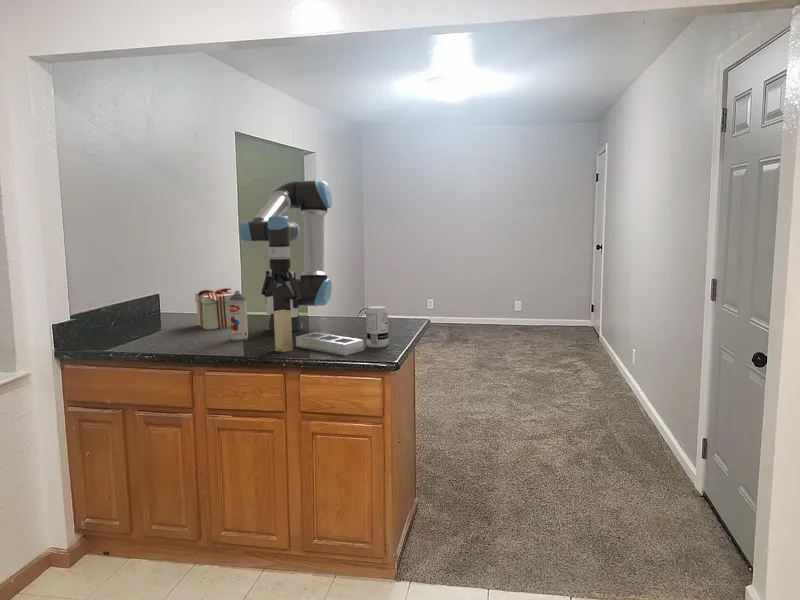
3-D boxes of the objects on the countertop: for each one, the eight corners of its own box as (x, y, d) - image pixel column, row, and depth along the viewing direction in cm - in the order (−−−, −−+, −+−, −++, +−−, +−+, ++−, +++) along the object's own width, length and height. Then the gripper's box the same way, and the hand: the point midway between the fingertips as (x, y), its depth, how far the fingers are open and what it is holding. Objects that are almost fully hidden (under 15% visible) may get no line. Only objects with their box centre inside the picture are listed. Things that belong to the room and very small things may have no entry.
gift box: (210, 331, 276) (207, 292, 273) (194, 326, 290) (191, 289, 287) (246, 326, 286) (244, 289, 284) (229, 321, 300) (227, 285, 298)
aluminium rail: (296, 346, 242) (295, 336, 242) (315, 341, 250) (315, 332, 250) (345, 355, 226) (344, 344, 226) (363, 350, 234) (363, 339, 233)
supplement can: (366, 343, 245) (365, 305, 243) (387, 343, 246) (386, 305, 244) (367, 348, 237) (366, 309, 235) (389, 347, 238) (388, 308, 236)
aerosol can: (227, 340, 257) (224, 291, 254) (239, 337, 263) (236, 289, 260) (240, 341, 254) (237, 292, 251) (251, 338, 259) (249, 290, 256)
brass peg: (275, 350, 236) (273, 311, 234) (284, 348, 240) (282, 309, 237) (283, 352, 233) (281, 312, 231) (292, 349, 237) (290, 310, 235)
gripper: (250, 257, 236) (252, 313, 239) (294, 259, 221) (297, 319, 223) (266, 256, 242) (268, 311, 245) (310, 258, 226) (312, 316, 229)
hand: (282, 315), depth 234 cm, fingers open, 13 cm apart
